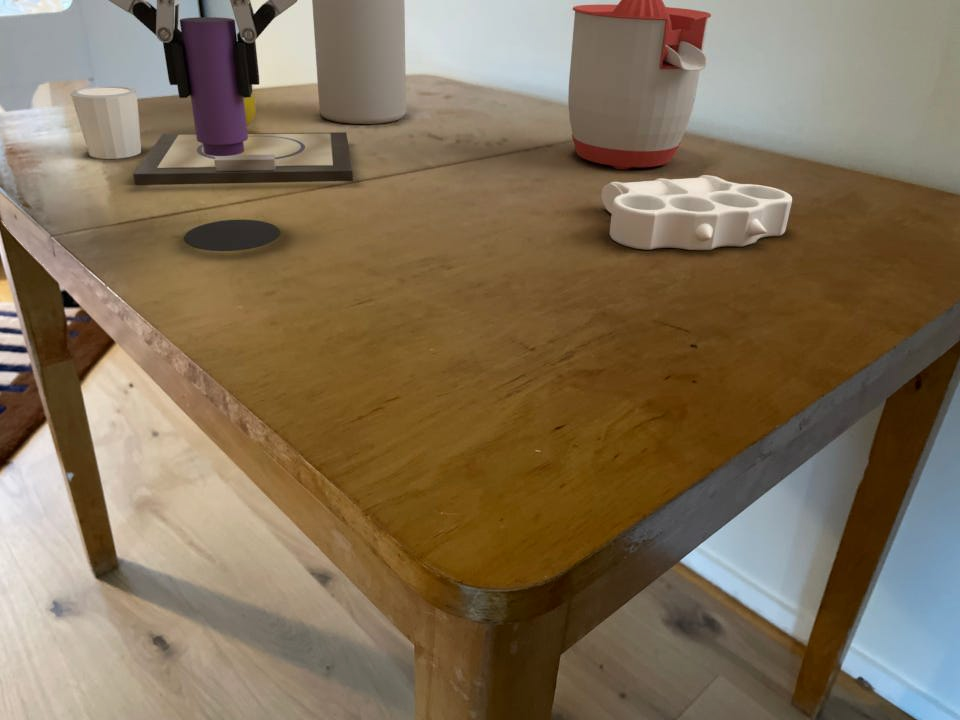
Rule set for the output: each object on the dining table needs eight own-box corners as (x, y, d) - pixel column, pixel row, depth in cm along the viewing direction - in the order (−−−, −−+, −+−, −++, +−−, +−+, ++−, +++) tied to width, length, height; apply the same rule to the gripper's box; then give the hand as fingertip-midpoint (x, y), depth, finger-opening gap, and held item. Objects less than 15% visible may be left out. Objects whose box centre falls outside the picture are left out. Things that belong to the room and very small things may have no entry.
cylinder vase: (404, 108, 120) (400, -78, 108) (408, 125, 110) (405, -79, 98) (321, 107, 119) (309, -81, 107) (317, 125, 108) (303, -82, 96)
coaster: (178, 256, 64) (177, 252, 63) (191, 224, 71) (190, 220, 70) (279, 253, 65) (278, 248, 65) (282, 222, 72) (281, 218, 72)
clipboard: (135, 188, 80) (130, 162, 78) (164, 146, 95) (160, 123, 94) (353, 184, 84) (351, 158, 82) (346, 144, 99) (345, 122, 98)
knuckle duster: (723, 198, 83) (818, 244, 71) (570, 211, 78) (646, 264, 66) (728, 166, 82) (827, 209, 70) (573, 177, 76) (651, 225, 64)
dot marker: (195, 158, 62) (175, 21, 57) (201, 146, 66) (183, 16, 61) (247, 157, 63) (232, 22, 58) (251, 145, 66) (236, 17, 61)
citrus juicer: (628, 186, 86) (653, -14, 77) (535, 150, 99) (547, -25, 89) (725, 169, 94) (759, -15, 84) (627, 139, 107) (647, -24, 97)
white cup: (69, 155, 90) (56, 92, 86) (113, 143, 95) (102, 83, 92) (117, 163, 88) (105, 98, 84) (159, 149, 94) (149, 89, 90)
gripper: (31, -199, 49) (93, 104, 57) (305, -184, 52) (324, 103, 60) (64, -184, 55) (115, 87, 64) (306, -171, 58) (323, 86, 67)
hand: (216, 92), depth 62 cm, fingers closed on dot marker, 4 cm apart
